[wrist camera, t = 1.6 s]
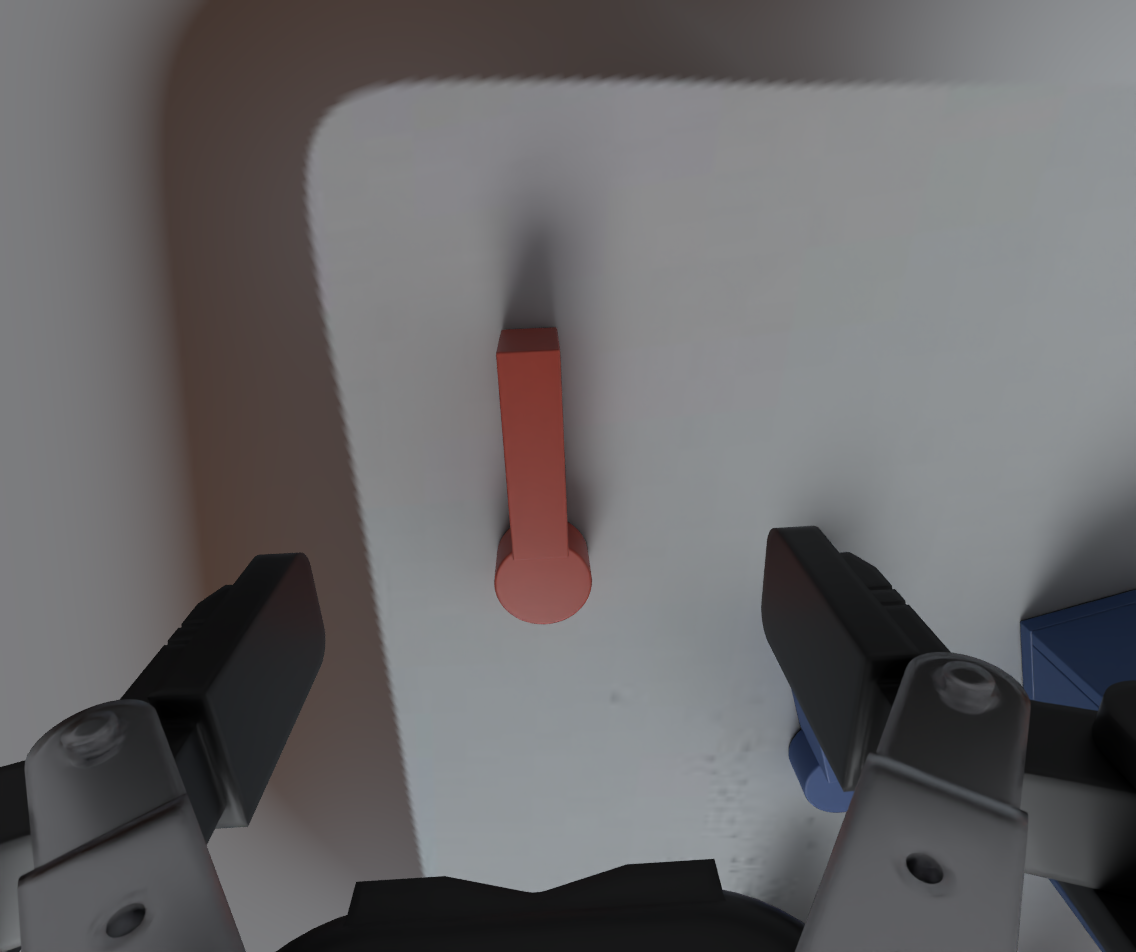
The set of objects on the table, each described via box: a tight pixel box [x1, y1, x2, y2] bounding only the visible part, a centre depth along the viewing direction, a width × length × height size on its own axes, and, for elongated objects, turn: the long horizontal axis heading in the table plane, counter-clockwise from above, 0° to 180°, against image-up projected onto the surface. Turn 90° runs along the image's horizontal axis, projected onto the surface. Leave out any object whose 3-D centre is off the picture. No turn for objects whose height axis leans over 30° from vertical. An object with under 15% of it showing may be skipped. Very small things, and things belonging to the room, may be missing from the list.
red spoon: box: [494, 327, 592, 624], centre depth 20 cm, size 9×3×3 cm, turn 2°
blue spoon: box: [789, 688, 854, 813], centre depth 24 cm, size 9×3×3 cm, turn 18°
